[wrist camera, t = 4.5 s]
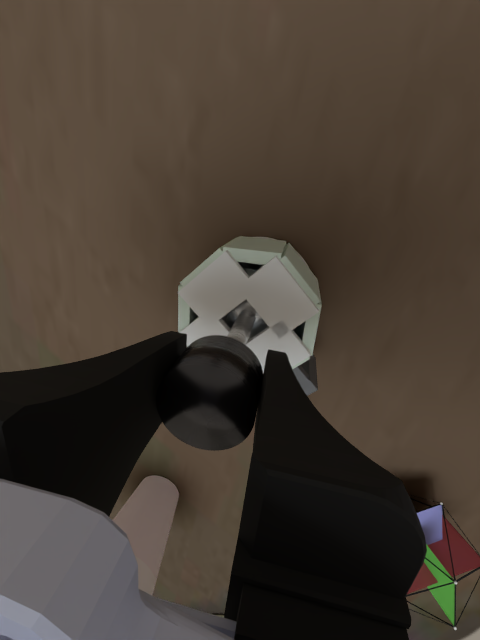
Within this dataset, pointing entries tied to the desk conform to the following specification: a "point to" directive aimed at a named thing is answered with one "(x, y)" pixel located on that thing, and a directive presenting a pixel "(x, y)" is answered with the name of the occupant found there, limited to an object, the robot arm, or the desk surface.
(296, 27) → the desk surface
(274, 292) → the faceted mint canister
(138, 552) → the smoothie
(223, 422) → the plunger
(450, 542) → the geometric puzzle
